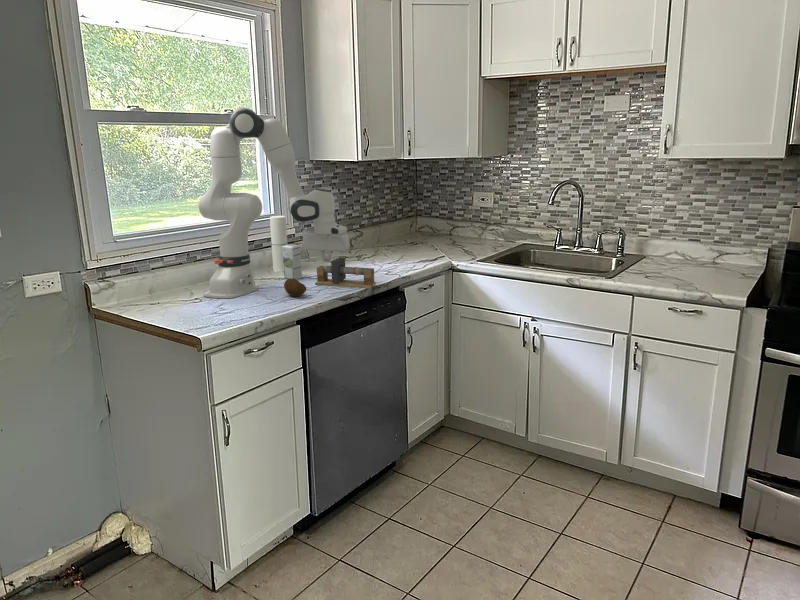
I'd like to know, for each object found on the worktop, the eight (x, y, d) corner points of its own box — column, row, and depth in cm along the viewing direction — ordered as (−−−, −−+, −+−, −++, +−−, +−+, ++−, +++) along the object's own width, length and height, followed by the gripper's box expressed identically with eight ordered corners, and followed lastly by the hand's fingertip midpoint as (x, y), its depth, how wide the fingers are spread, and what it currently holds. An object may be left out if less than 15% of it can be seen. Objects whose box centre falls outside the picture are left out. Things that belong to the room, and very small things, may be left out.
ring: (337, 283, 250) (336, 261, 248) (331, 282, 251) (331, 261, 248) (345, 278, 258) (345, 257, 256) (340, 277, 259) (339, 257, 257)
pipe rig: (369, 288, 247) (368, 270, 245) (315, 284, 254) (314, 267, 252) (375, 283, 254) (375, 266, 252) (323, 280, 261) (322, 263, 259)
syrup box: (302, 277, 268) (300, 245, 264) (293, 280, 263) (291, 247, 259) (292, 276, 270) (290, 244, 267) (283, 278, 266) (281, 246, 262)
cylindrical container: (270, 271, 281) (266, 217, 274) (279, 268, 287) (276, 215, 281) (282, 272, 278) (278, 218, 271) (292, 269, 284) (288, 216, 277)
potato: (298, 300, 230) (297, 282, 229) (277, 295, 237) (276, 278, 235) (311, 296, 236) (310, 278, 234) (290, 292, 242) (289, 275, 241)
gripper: (298, 228, 250) (300, 261, 254) (344, 230, 244) (345, 264, 248) (305, 226, 256) (307, 258, 260) (350, 227, 250) (351, 260, 254)
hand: (326, 261), depth 254 cm, fingers closed
